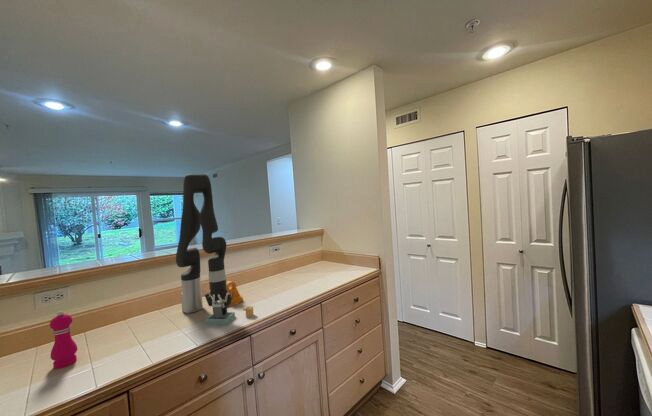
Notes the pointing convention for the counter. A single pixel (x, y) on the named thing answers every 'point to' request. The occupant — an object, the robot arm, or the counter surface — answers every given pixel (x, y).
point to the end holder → (213, 321)
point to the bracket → (236, 296)
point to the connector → (218, 309)
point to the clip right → (248, 311)
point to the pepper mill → (62, 341)
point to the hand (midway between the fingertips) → (220, 314)
